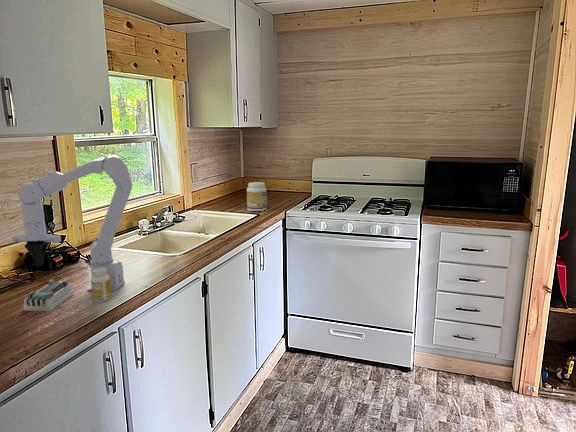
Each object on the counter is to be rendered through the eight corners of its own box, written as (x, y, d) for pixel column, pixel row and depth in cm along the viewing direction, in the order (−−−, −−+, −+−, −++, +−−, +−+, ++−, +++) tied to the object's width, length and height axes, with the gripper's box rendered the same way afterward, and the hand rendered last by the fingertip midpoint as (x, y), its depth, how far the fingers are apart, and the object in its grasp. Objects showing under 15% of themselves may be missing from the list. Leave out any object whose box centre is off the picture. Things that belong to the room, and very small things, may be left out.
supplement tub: (266, 212, 262) (266, 184, 259) (246, 212, 262) (245, 184, 258) (267, 208, 274) (266, 181, 271) (247, 208, 274) (247, 181, 270)
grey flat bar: (53, 283, 139) (53, 281, 139) (65, 283, 139) (65, 281, 139) (32, 297, 128) (31, 295, 128) (45, 298, 128) (44, 295, 128)
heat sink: (49, 293, 141) (47, 279, 139) (73, 293, 140) (72, 279, 139) (23, 310, 128) (21, 295, 127) (50, 311, 127) (48, 295, 126)
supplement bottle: (107, 294, 140) (104, 265, 138) (114, 299, 136) (111, 269, 134) (90, 298, 136) (87, 269, 134) (96, 303, 132) (93, 273, 130)
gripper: (64, 219, 137) (69, 260, 140) (19, 218, 138) (25, 259, 141) (51, 224, 131) (56, 267, 134) (4, 224, 131) (11, 267, 134)
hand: (39, 264), depth 137 cm, fingers closed
